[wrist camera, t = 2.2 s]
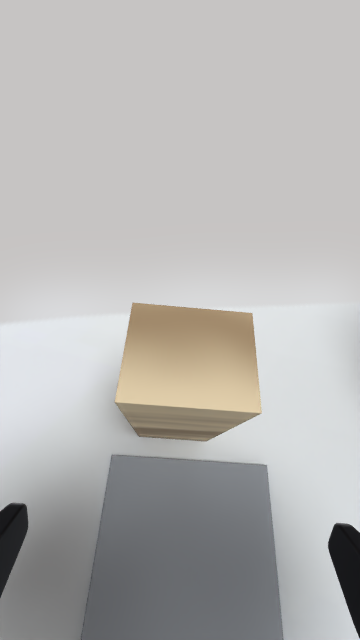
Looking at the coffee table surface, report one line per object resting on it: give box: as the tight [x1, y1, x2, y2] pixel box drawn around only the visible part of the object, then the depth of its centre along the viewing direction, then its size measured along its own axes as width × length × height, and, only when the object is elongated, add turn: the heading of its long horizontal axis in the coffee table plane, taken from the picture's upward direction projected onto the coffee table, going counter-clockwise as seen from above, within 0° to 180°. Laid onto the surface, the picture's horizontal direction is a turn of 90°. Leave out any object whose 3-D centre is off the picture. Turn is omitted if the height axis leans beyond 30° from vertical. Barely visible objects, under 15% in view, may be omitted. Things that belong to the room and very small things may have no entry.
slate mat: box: [81, 455, 283, 640], centre depth 14 cm, size 16×11×1 cm
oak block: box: [115, 303, 262, 441], centre depth 15 cm, size 4×5×12 cm
